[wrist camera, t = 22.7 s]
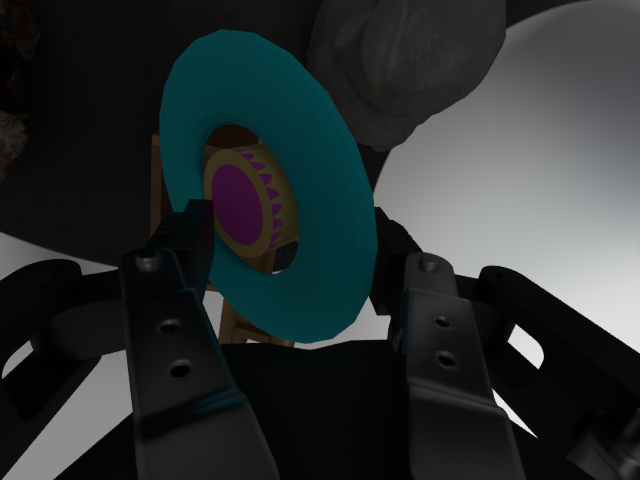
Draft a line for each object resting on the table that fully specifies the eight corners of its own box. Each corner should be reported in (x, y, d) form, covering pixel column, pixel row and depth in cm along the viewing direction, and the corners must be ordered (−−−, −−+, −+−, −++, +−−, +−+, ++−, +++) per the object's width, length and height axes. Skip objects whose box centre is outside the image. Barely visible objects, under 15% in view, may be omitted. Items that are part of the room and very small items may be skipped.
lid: (211, 390, 24) (276, 409, 24) (235, 207, 18) (323, 231, 18) (258, 298, 35) (305, 311, 34) (284, 161, 28) (341, 176, 28)
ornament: (357, 336, 16) (516, 160, 9) (289, 396, 13) (456, 197, 6) (223, 190, 19) (273, -14, 13) (145, 210, 16) (159, -43, 10)
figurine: (404, -52, 32) (575, -174, 14) (451, 111, 40) (599, 159, 22) (272, 29, 33) (283, 6, 16) (343, 170, 41) (401, 258, 24)
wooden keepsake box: (174, 232, 42) (149, 285, 32) (180, 112, 36) (151, 134, 26) (262, 244, 44) (262, 296, 35) (282, 133, 38) (289, 160, 29)
